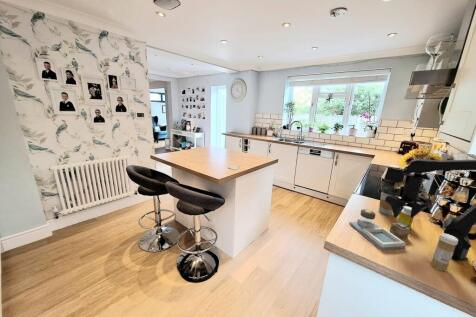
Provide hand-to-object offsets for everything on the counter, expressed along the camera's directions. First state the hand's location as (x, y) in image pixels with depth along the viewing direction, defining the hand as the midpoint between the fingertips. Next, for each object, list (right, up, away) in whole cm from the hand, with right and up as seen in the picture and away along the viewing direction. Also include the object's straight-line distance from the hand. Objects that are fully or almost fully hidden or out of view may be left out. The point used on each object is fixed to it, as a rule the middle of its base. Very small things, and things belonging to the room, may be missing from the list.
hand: (403, 217), depth 89 cm
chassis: (-13, -9, +2) cm, 15 cm away
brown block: (-1, -9, +2) cm, 10 cm away
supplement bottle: (+9, -8, +11) cm, 16 cm away
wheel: (-13, -1, +6) cm, 14 cm away
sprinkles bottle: (-1, -14, -16) cm, 22 cm away
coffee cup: (+10, -5, +24) cm, 26 cm away
